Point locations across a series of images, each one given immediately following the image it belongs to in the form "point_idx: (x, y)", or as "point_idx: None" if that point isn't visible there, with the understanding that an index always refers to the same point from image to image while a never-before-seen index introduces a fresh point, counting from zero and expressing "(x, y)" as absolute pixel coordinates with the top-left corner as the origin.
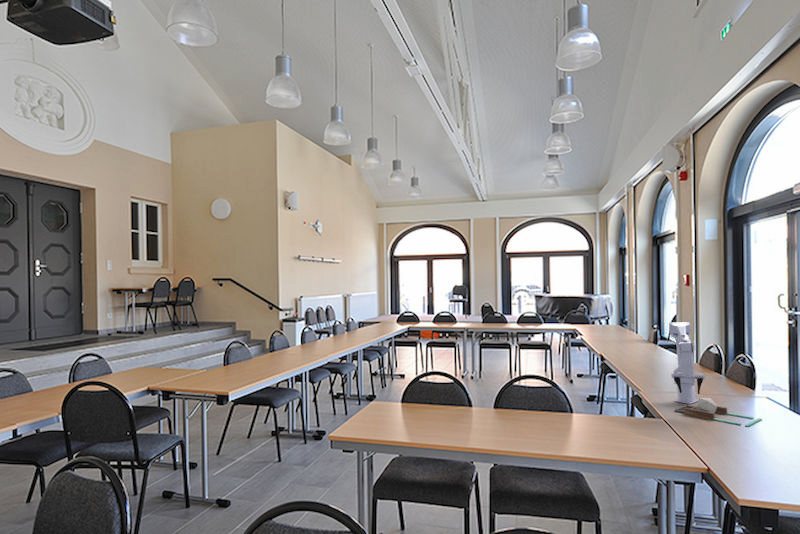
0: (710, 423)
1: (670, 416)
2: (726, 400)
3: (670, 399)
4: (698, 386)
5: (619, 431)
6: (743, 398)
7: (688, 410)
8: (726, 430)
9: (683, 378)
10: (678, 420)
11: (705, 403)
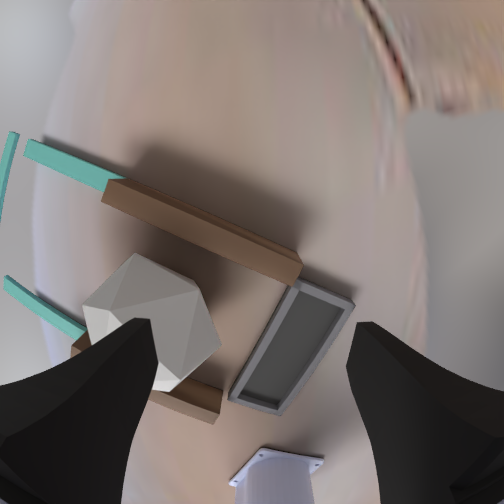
0: (146, 94)
1: (380, 168)
2: (143, 488)
3: (336, 473)
4: (79, 371)
5: None
6: None
7: (272, 248)
8: (94, 21)
9: None
10: (330, 87)
11: (133, 294)
